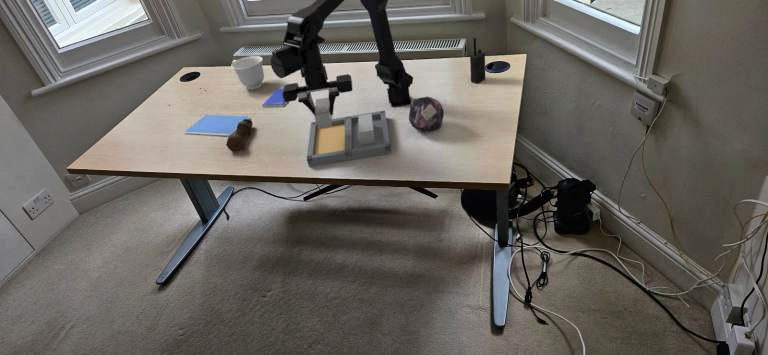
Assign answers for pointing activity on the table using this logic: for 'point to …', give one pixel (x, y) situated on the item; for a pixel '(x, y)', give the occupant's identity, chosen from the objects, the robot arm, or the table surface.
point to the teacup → (249, 71)
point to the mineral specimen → (426, 114)
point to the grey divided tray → (349, 139)
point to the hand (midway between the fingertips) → (324, 115)
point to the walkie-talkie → (477, 65)
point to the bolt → (240, 136)
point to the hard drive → (275, 99)
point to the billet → (323, 113)
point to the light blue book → (216, 125)
